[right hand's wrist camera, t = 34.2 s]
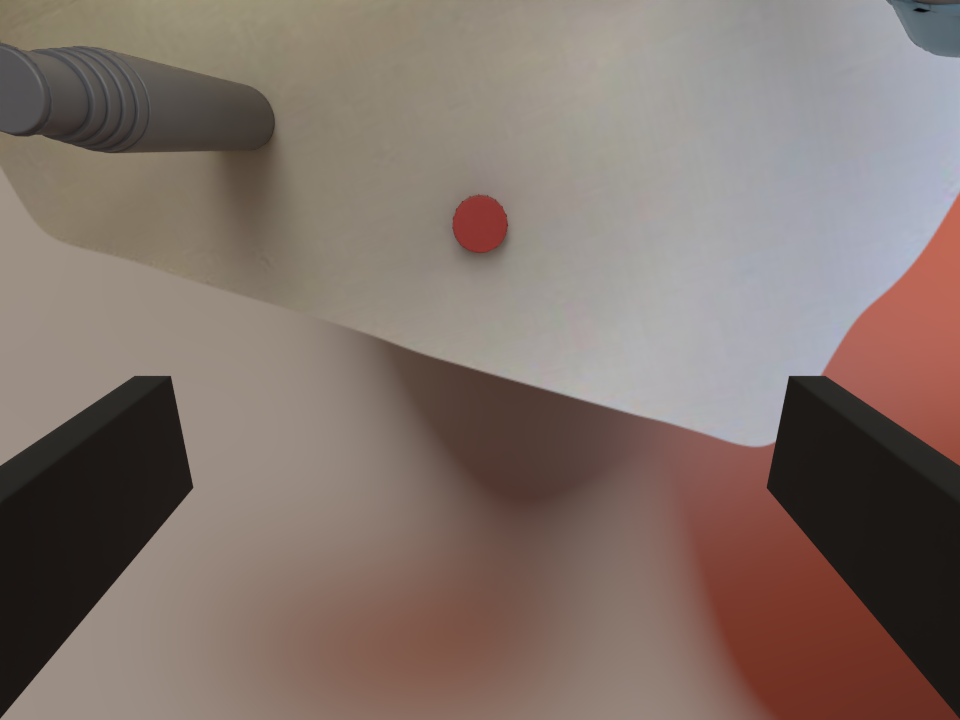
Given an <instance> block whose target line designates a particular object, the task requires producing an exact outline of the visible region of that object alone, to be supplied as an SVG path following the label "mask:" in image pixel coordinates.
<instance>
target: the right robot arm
mask: <svg viewBox="0 0 960 720" xmlns="http://www.w3.org/2000/svg"><path fill="white" fill-rule="evenodd" d="M887 2H888V3H889V4H891V5H892V6H893V8H894V10H895V12H896V14H897V15H898V17H899V19H900V21H901V23H902V25H903V27H904V29H905V31H906V33H907V35H908V36H909V38H910V39H911V41H912V42H913V43H914V44H916V45H917V46H919V47H922V48H923V49H924V50H925V51H929V52H931V53H932V54H935V55H938V56H945V57H960V0H887ZM192 489H193V484H192V479H191V474H190V469H189V464H188V459H187V454H186V449H185V444H184V439H183V434H182V429H181V424H180V419H179V414H178V409H177V404H176V399H175V394H174V390H173V384H172V380H171V376H134V377H133V378H131V379H130V380H128V381H127V382H125V383H124V384H122V385H121V386H119V387H118V388H116V389H115V390H113V391H112V392H110V393H109V394H107V395H106V396H104V397H103V398H101V399H100V400H98V401H97V402H95V403H94V404H92V405H91V406H89V407H88V408H86V409H85V410H83V411H82V412H80V413H79V414H77V415H76V416H74V417H73V418H71V419H70V420H68V421H67V422H65V423H64V424H62V425H61V426H59V427H58V428H56V429H55V430H53V431H52V432H50V433H49V434H47V435H46V436H44V437H43V438H41V439H40V440H38V441H37V442H35V443H34V444H32V445H31V446H29V447H28V448H26V449H25V450H23V451H22V452H20V453H19V454H17V455H16V456H14V457H13V458H12V459H10V460H8V461H7V462H6V463H4V464H3V465H1V466H0V718H1V717H2V716H3V715H4V713H5V712H6V711H7V710H8V709H9V707H10V706H11V705H12V704H13V703H14V701H15V700H16V699H17V698H18V697H19V696H20V694H21V693H22V692H23V691H24V690H25V688H26V687H27V686H28V685H29V684H30V682H31V681H32V680H33V679H34V677H35V676H36V675H37V674H38V673H39V672H40V670H41V669H42V668H43V667H44V666H45V664H46V663H47V662H48V661H49V660H50V658H51V657H52V656H53V655H54V654H55V652H56V651H57V650H58V649H59V648H60V646H61V645H62V644H63V643H64V642H65V641H66V639H67V638H68V637H69V636H70V635H71V633H72V632H73V631H74V630H75V629H76V627H77V626H78V625H79V624H80V623H81V621H82V620H83V619H84V618H85V617H86V615H87V614H88V613H89V612H90V611H91V609H92V608H93V607H94V606H95V605H96V603H97V602H98V601H99V600H100V599H101V597H102V596H103V595H104V594H105V593H106V592H107V590H108V589H109V588H110V587H111V585H112V584H113V583H114V582H115V581H116V580H117V578H118V577H119V576H120V575H121V574H122V572H123V571H124V570H125V569H126V568H127V566H128V565H129V564H130V563H131V562H132V560H133V559H134V558H135V557H136V556H137V554H138V553H139V552H140V551H141V550H142V548H143V547H144V546H145V545H146V544H147V542H148V541H149V540H150V539H151V538H152V537H153V535H154V534H155V533H156V532H157V531H158V529H159V528H160V527H161V526H162V525H163V523H164V522H165V521H166V520H167V519H168V517H169V516H170V515H171V514H172V513H173V511H174V510H175V509H176V508H177V507H178V505H179V504H180V503H181V502H182V501H183V499H184V498H185V497H186V496H187V495H188V493H189V492H190V491H191V490H192ZM767 489H768V490H769V491H770V492H771V493H772V495H773V496H774V497H775V498H776V499H777V501H778V502H779V503H780V504H781V505H782V507H783V508H784V509H785V510H786V511H787V513H788V514H789V515H790V516H791V517H792V519H793V520H794V521H795V522H796V523H797V525H798V526H799V527H800V528H801V529H802V531H803V532H804V533H805V534H806V535H807V537H808V538H809V539H810V540H811V541H812V542H813V544H814V545H815V546H816V547H817V548H818V550H819V551H820V552H821V553H822V554H823V556H824V557H825V558H826V559H827V560H828V562H829V563H830V564H831V565H832V566H833V568H834V569H835V570H836V571H837V572H838V574H839V575H840V576H841V577H842V578H843V580H844V581H845V582H846V583H847V584H848V586H849V587H850V588H851V589H852V590H853V591H854V593H855V594H856V595H857V596H858V597H859V599H860V600H861V601H862V602H863V603H864V605H865V606H866V607H867V608H868V609H869V611H870V612H871V613H872V614H873V615H874V617H875V618H876V619H877V620H878V621H879V623H880V624H881V625H882V626H883V627H884V629H885V630H886V631H887V632H888V633H889V635H890V636H891V637H892V638H893V639H894V641H895V642H896V643H897V644H898V645H899V646H900V648H901V649H902V650H903V651H904V652H905V654H906V655H907V656H908V657H909V658H910V660H911V661H912V662H913V663H914V664H915V666H916V667H917V668H918V669H919V670H920V672H921V673H922V674H923V675H924V676H925V678H926V679H927V680H928V681H929V682H930V684H931V685H932V686H933V687H934V688H935V689H936V691H937V692H938V693H939V694H940V696H941V697H942V698H943V699H944V700H945V701H946V703H947V704H948V705H949V706H950V707H951V709H952V710H953V711H954V712H955V713H956V715H957V716H958V717H959V718H960V466H959V465H957V464H956V463H954V462H953V461H952V460H950V459H949V458H947V457H946V456H944V455H943V454H941V453H940V452H938V451H937V450H935V449H934V448H932V447H931V446H929V445H928V444H926V443H925V442H923V441H922V440H920V439H919V438H917V437H916V436H914V435H913V434H911V433H910V432H908V431H907V430H905V429H904V428H902V427H901V426H899V425H898V424H896V423H895V422H893V421H892V420H890V419H889V418H887V417H886V416H884V415H883V414H881V413H880V412H878V411H877V410H875V409H874V408H872V407H871V406H869V405H868V404H866V403H865V402H863V401H862V400H860V399H859V398H857V397H856V396H854V395H853V394H851V393H850V392H848V391H847V390H845V389H844V388H842V387H841V386H839V385H838V384H836V383H835V382H833V381H832V380H830V379H829V378H827V377H826V376H789V380H788V384H787V389H786V394H785V399H784V404H783V409H782V414H781V419H780V424H779V429H778V434H777V439H776V444H775V449H774V454H773V459H772V464H771V469H770V474H769V479H768V484H767Z"/></svg>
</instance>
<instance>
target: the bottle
mask: <svg viewBox="0 0 960 720" xmlns="http://www.w3.org/2000/svg"><path fill="white" fill-rule="evenodd" d="M273 128H274V115H273V111H272V108H271V106H270V104H269V102H268V101H267V99H266V98H265V97H264V96H263V95H262V94H261V93H260V92H259V91H257V90H256V89H254V88H252V87H250V86H247V85H243V84H239V83H235V82H231V81H227V80H223V79H219V78H215V77H211V76H208V75H204V74H200V73H196V72H192V71H188V70H184V69H180V68H176V67H172V66H168V65H164V64H161V63H157V62H153V61H149V60H145V59H141V58H137V57H133V56H129V55H125V54H121V53H117V52H113V51H110V50H106V49H102V48H96V47H85V46H73V47H62V48H50V49H37V50H32V51H24V50H20V49H18V48H16V47H13V46H10V45H7V44H4V43H0V131H1V132H5V133H7V134H11V135H14V136H32V135H43V136H45V137H48V138H50V139H54V140H59V141H61V142H64V143H68V144H72V145H75V146H78V147H82V148H85V149H88V150H92V151H99V152H105V153H139V152H184V151H230V150H254V149H257V148H259V147H261V146H263V145H264V144H265V143H266V142H267V141H268V140H269V139H270V137H271V135H272V132H273Z"/></svg>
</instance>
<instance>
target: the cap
mask: <svg viewBox="0 0 960 720" xmlns="http://www.w3.org/2000/svg"><path fill="white" fill-rule="evenodd" d="M506 217H507V215H506V214H505V212H504V210H503V207H502V206H501V205H500V204H499V203H498V202H497V201H496V199H495V200H494V199H493V198H491V197H488V195H487V196H484V195H479V194H478V195H476V196H472V197H471V196H470V197H469V198H467V199H466V200H464V201H462V203H461V204H460V205H459V207H458V208H457V209H456V213H455V215H454V217H453V231H454V234H455V237H456V239H457V240H458V242H459V243H460V244H461V245H462V246H463V247H464V248H466V249H468V250H470V251H473V252H479V253H482V252H488V251H490V250H492V249H494V248H496V247H497V246H498V245H499V244H500V243H501V242H502V241H503V239H504V237H505V235H506V232H507V226H508V224H507V218H506Z"/></svg>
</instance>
